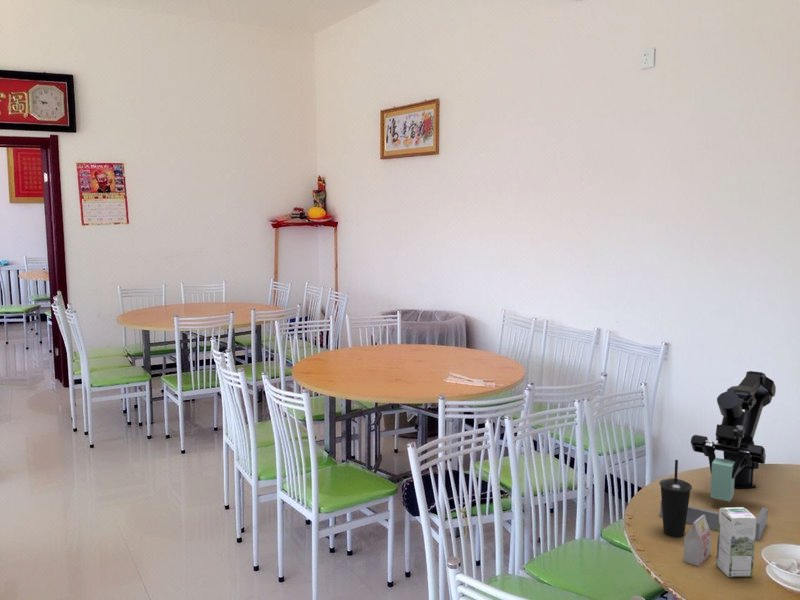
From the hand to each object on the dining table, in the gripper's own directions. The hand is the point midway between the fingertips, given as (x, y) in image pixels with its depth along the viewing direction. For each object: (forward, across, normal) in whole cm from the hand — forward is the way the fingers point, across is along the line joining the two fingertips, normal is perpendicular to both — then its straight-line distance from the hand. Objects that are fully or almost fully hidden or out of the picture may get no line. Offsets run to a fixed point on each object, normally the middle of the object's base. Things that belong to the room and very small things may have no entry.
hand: (721, 475), depth 187 cm
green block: (+4, 0, +6) cm, 7 cm away
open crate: (+14, 0, 0) cm, 14 cm away
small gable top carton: (+30, +2, -16) cm, 34 cm away
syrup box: (+31, +10, -17) cm, 37 cm away
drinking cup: (+24, -6, -9) cm, 26 cm away
